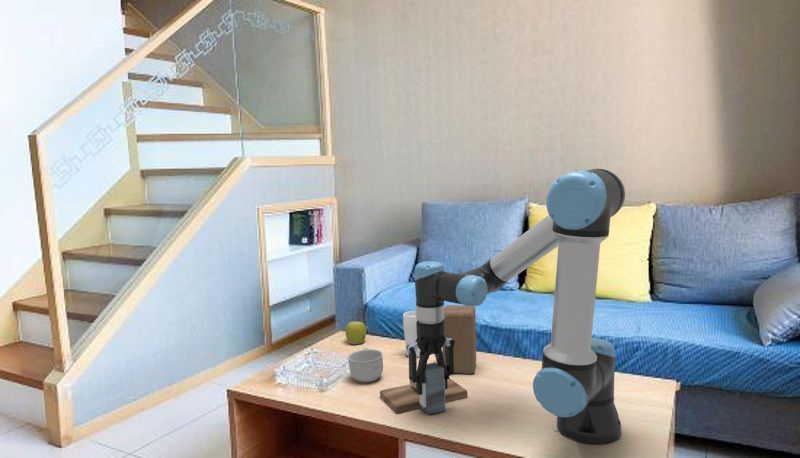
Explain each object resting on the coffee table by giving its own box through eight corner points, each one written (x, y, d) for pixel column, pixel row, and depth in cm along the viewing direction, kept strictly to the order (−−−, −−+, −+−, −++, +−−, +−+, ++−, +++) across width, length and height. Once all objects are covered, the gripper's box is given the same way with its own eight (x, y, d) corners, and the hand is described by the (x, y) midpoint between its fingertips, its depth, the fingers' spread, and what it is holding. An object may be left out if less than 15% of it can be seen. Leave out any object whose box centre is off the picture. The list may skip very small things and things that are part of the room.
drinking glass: (414, 350, 200) (413, 309, 198) (427, 355, 194) (426, 313, 193) (400, 355, 195) (398, 313, 193) (413, 360, 190) (411, 317, 188)
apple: (358, 345, 204) (351, 318, 205) (344, 347, 210) (338, 321, 210) (373, 339, 210) (367, 313, 211) (360, 342, 215) (354, 316, 216)
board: (467, 397, 160) (467, 390, 160) (396, 414, 151) (396, 406, 151) (447, 382, 171) (447, 375, 171) (380, 397, 162) (379, 390, 162)
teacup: (380, 386, 170) (378, 361, 169) (345, 385, 172) (344, 360, 171) (388, 369, 183) (387, 345, 182) (355, 368, 185) (354, 344, 184)
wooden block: (474, 375, 176) (473, 313, 173) (442, 373, 178) (441, 312, 175) (476, 363, 186) (475, 304, 183) (446, 362, 188) (445, 304, 185)
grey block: (445, 410, 151) (444, 368, 150) (428, 414, 149) (427, 371, 148) (420, 389, 165) (419, 350, 164) (405, 392, 164) (403, 353, 162)
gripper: (453, 311, 156) (454, 391, 159) (393, 321, 149) (396, 404, 152) (466, 318, 149) (468, 401, 152) (404, 328, 142) (407, 415, 145)
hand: (432, 402), depth 152 cm, fingers closed on grey block, 5 cm apart
